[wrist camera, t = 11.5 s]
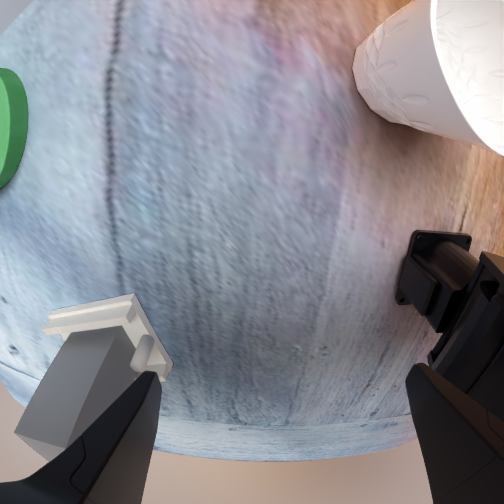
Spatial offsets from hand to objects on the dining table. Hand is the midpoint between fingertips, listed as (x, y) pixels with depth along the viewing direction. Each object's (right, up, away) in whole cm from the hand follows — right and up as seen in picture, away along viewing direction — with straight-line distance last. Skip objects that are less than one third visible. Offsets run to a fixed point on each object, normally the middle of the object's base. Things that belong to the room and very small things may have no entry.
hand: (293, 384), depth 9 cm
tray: (-14, -4, +15) cm, 21 cm away
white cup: (+8, +16, +6) cm, 19 cm away
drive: (-14, -4, +14) cm, 20 cm away
